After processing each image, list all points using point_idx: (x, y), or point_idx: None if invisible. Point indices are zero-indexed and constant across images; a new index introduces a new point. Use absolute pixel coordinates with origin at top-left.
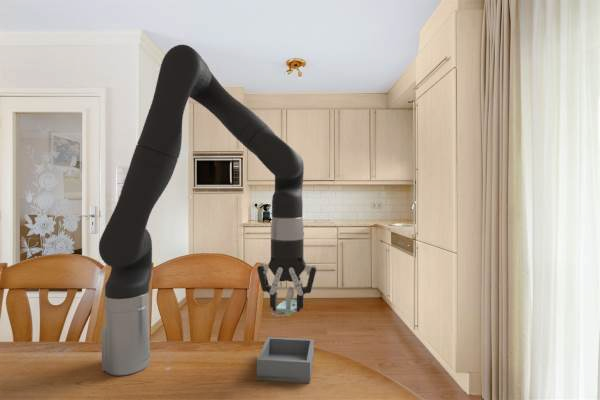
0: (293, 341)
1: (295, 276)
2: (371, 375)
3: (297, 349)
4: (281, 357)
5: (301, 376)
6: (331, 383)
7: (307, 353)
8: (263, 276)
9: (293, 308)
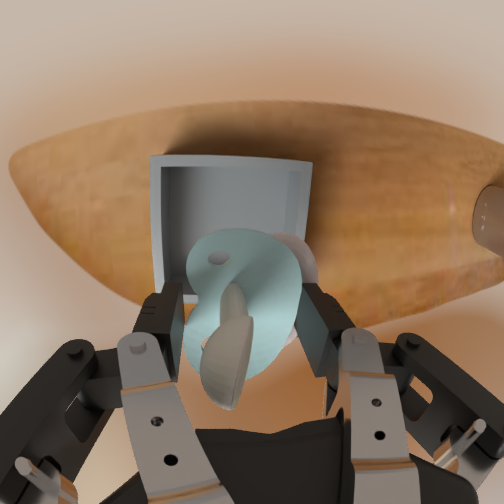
0: None
1: (154, 468)
2: (43, 211)
3: None
4: None
5: (181, 154)
6: (114, 161)
7: (178, 276)
8: (466, 400)
9: (206, 317)
